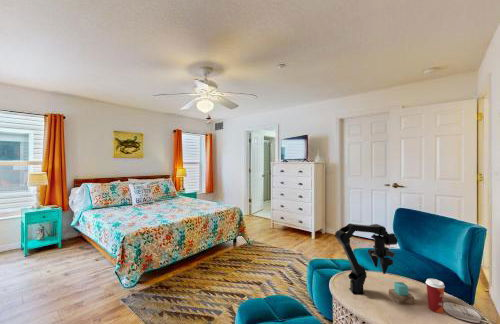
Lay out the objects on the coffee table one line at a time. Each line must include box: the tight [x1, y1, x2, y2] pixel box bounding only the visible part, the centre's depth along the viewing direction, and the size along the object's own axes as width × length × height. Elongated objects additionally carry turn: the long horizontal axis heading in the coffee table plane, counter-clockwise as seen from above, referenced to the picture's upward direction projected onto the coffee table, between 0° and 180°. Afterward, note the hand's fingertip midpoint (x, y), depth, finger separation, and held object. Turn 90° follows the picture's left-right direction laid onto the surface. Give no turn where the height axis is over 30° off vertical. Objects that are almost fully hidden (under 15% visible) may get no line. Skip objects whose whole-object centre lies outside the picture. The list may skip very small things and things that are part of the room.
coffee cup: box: [425, 278, 446, 314], centre depth 127 cm, size 8×8×15 cm
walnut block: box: [388, 288, 415, 305], centre depth 137 cm, size 9×9×4 cm
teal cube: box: [393, 281, 409, 295], centre depth 137 cm, size 5×5×5 cm
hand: (380, 270), depth 148 cm, fingers open, 9 cm apart
